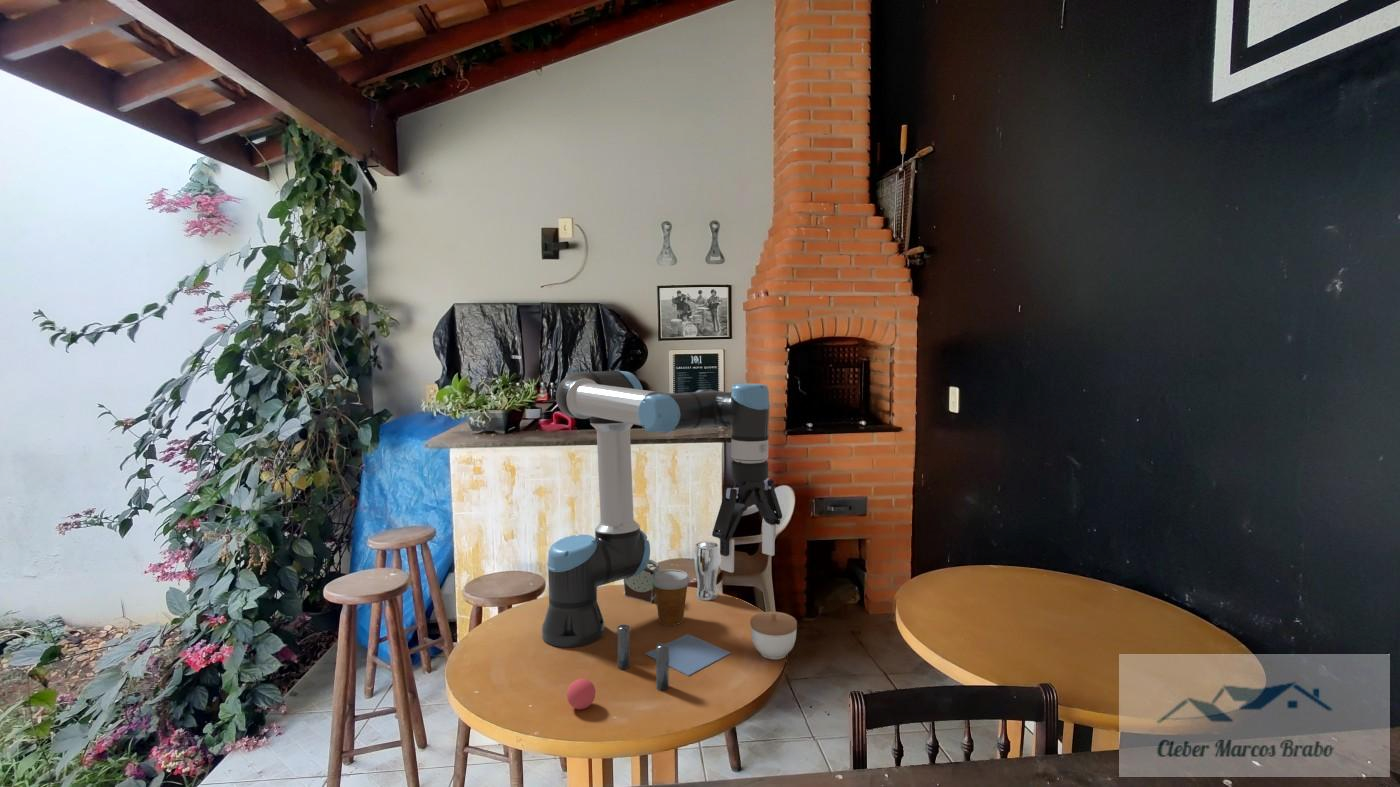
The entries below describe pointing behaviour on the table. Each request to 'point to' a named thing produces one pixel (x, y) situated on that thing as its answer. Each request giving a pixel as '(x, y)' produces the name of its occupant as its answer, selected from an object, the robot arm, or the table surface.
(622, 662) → the post
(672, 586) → the disposable coffee cup
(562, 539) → the robot arm
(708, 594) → the beer glass
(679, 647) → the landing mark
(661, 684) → the post
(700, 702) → the table surface
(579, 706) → the ball
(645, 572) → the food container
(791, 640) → the lidded jar
